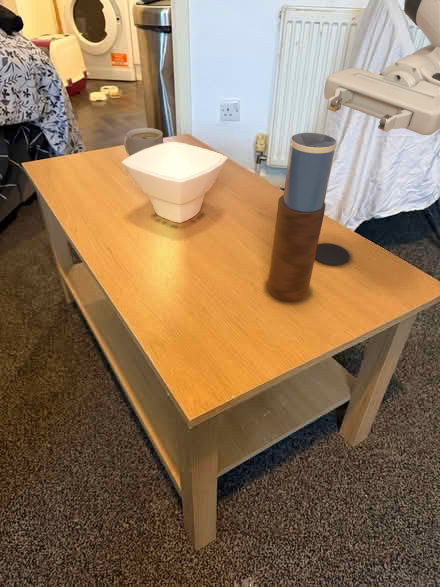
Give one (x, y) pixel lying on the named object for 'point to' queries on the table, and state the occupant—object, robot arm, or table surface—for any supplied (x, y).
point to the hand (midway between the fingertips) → (356, 115)
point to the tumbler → (308, 171)
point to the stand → (293, 252)
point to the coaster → (331, 254)
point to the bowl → (175, 177)
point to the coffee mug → (142, 139)
